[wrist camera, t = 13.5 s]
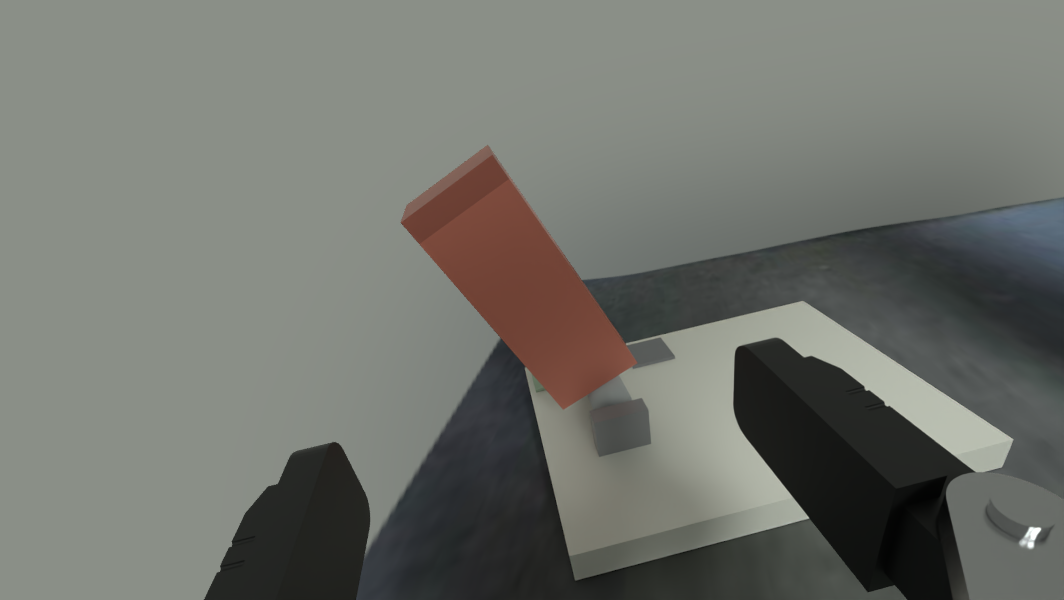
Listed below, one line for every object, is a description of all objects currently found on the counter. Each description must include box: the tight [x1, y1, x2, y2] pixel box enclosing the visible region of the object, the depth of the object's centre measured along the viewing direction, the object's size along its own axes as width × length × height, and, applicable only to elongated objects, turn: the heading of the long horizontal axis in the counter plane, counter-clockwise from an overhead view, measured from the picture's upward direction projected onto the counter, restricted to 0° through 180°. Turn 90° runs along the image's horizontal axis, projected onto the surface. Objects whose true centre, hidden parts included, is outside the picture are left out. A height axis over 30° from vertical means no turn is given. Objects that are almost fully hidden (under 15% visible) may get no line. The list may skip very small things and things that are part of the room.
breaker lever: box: [401, 145, 637, 410], centre depth 20 cm, size 4×3×13 cm
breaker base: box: [525, 301, 1013, 581], centre depth 22 cm, size 18×12×4 cm
